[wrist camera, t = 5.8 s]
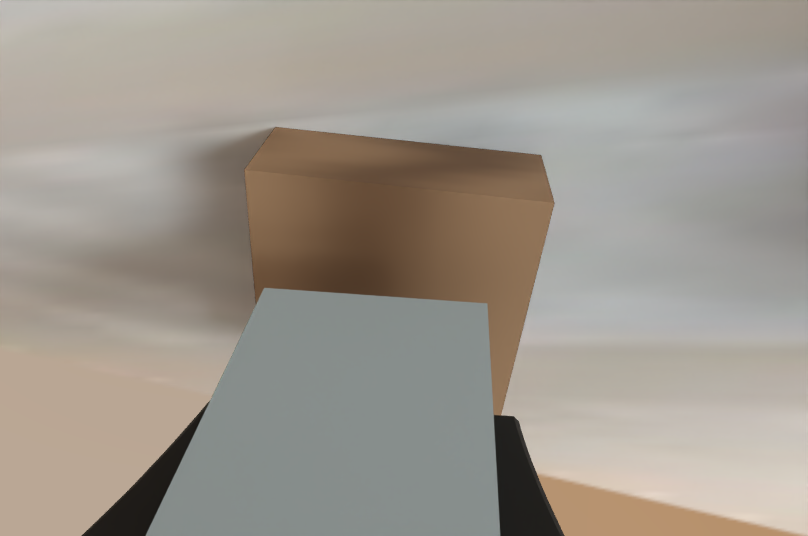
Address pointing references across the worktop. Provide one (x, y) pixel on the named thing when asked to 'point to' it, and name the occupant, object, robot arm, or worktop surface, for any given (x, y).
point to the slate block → (345, 424)
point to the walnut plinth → (401, 225)
